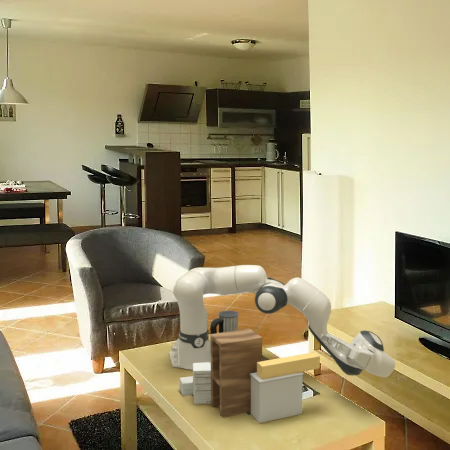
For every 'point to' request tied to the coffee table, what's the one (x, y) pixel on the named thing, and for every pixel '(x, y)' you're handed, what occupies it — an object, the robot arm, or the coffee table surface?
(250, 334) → the walnut shelf
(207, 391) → the white drawer cabinet
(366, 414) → the coffee table surface
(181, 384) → the small box
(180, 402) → the coffee table surface
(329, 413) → the coffee table surface
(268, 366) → the ochre box
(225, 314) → the milk frother
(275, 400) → the grey box
